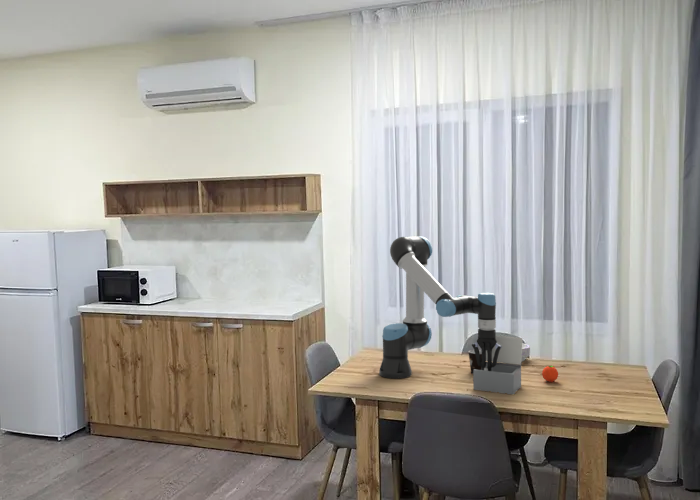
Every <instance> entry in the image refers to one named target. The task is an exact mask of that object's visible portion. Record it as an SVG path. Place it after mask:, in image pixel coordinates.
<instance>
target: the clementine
mask: <svg viewBox="0 0 700 500" xmlns="http://www.w3.org/2000/svg"><path fill="white" fill-rule="evenodd" d="M541 376H542V378H543V379H544V380H545V381H546V382H549V383H552V382H555V381H557V379H558V378H559V371H558V369H557V368H556V367H555V366H554V365H548V366H546V367H544V368H543V369H542V371H541Z"/></svg>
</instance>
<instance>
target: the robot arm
mask: <svg viewBox="0 0 700 500" xmlns="http://www.w3.org/2000/svg"><path fill="white" fill-rule="evenodd" d="M389 254H390V257H391V259H392V262H393V263H394V264H395V265H396V266H397V268H399V269H403V271H405V273H406V275H405V276H406V277H405V278H406V280H405V317H404V318H403V320H402V323H400V322H399V323H398V322H397V323H391V324H387V325H385V326H384V327H383V329H382V335H381V337H382V360H381V364H380V367H379V372H378V373H379V376H380V377H382V378H386V379H405V378H410V377H412V367H411V365H410V361H409V351H411V350H414V349H419V348H423V347H426V346H427V345H428V344H429V343H430V342H431V339H432V334H433V333H432V328H430V325H429V324H428V321H427V319H426V318H425V316H424V315H425V312H424V311H425V307H424V306H425V295H427V296H428V298H429V299H431V301H432V302H433V303H434V304H435V310H436V312H437V314H438V316H440V317H441V318H447V317H449V318H450V317H453V316H458V315H465V314H475V315H477V328H478V329H477V340H476V342H473V343H472V344H471V346H472V348H473V350H474V351H475V355H476V360H477V364H478V366H481V367H482V370H485V371H491V368H492V367H495V366H496V363H498V362H497V359H498V355H499V351H500V349H501V348H502V346H501V345H499V344H497V341H496V336H497V335H496V334H497V333H496V331H497V330H496V328H497V324H496V323H497V322H496V321H497V320H496V311H497V310H496V309H497V302H496V294H494V293H493V292H479V293H478V294H477V296H473V295H466V294H458V295H457V296H456V297H453V296H452V294H450V293H449V292H448V291H447V290H446V289H445V287H444V286H443V285H442V284H441V283H440V282H439V281H438V280H437V279H436V278H435V277H434V276H433V275H432V274H431V273H430V272H429V271H428V269H427V268H426V267H427V266H428V260H429V259H430V258H431V257H432V255H433V245H432V243H431V241H430V240H429V239H428V238H426V237H425V236H420V235H414V236H412V235H411V236H401V237H397V238H396V239H394V240H393V242H392V243H391V244H390V248H389ZM494 346H496V347H495V348H496V351H495V354H494V358H493V362H492V349H493V348H494ZM479 347H480V349H479ZM479 350H481V352H482V362H481V357H480V353H479ZM486 350H487V353H488V361H486ZM486 362H488V367H486Z"/></svg>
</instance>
